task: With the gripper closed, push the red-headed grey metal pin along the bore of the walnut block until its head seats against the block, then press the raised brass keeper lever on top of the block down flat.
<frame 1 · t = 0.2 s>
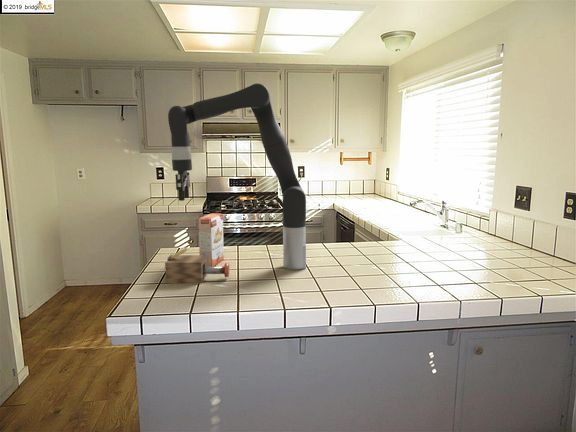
hand: (184, 199, 164), 29 cm above the countertop, tool pointing down, fingers open, 8 cm apart
cracker box: (212, 264, 175), on the countertop
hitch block: (187, 279, 154), on the countertop
lynch pin: (208, 270, 154), point 3 cm above the countertop, slide at 0.0 cm
keeper lever: (177, 253, 153), point 10 cm above the countertop, hinge at 28.0°, touching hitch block
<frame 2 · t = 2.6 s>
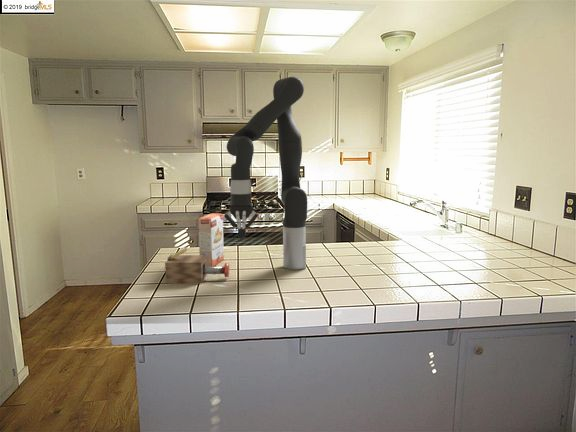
hand: (241, 238, 152), 16 cm above the countertop, tool pointing down, fingers closed
nothing on the countertop moved.
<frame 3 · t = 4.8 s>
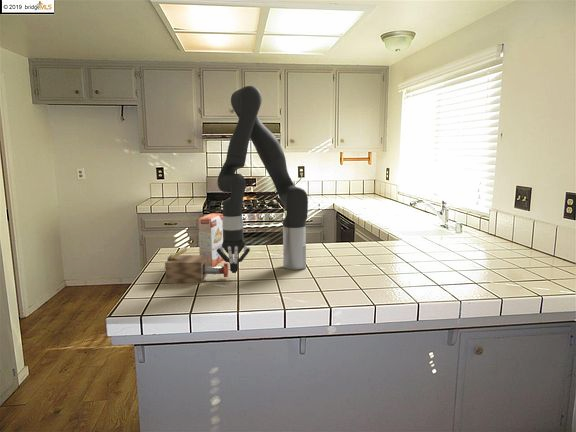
hand: (234, 272, 154), 3 cm above the countertop, tool pointing down, fingers closed
lynch pin: (207, 270, 154), point 3 cm above the countertop, slide at 0.3 cm, touching gripper
everything else where it was.
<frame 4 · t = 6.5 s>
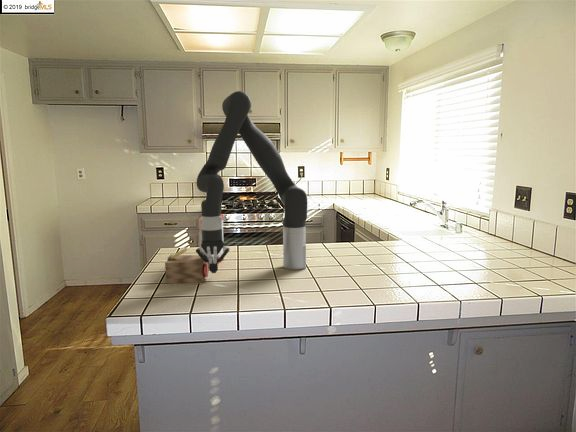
hand: (213, 272, 154), 3 cm above the countertop, tool pointing down, fingers closed
lynch pin: (187, 270, 154), point 3 cm above the countertop, slide at 8.0 cm
everything else where it was.
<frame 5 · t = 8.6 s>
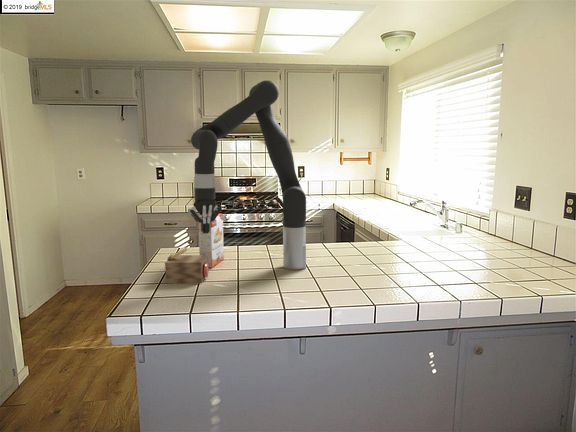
hand: (205, 233, 150), 18 cm above the countertop, tool pointing down, fingers closed
nothing on the countertop moved.
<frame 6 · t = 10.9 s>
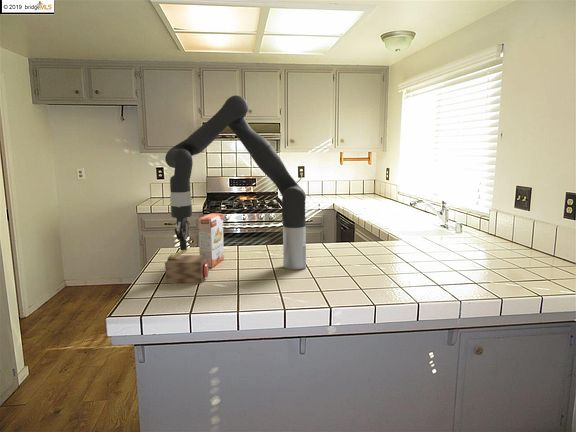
hand: (183, 249, 152), 12 cm above the countertop, tool pointing down, fingers closed
keeper lever: (177, 254, 153), point 10 cm above the countertop, hinge at 26.7°, touching gripper, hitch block
everything else where it was.
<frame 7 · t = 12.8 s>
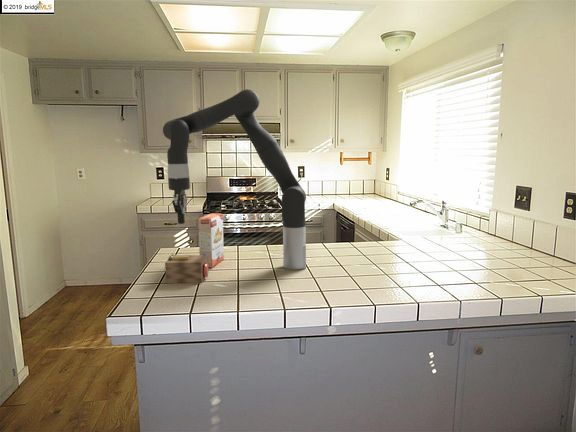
hand: (181, 223, 150), 22 cm above the countertop, tool pointing down, fingers closed
keeper lever: (179, 257, 153), point 9 cm above the countertop, hinge at 1.5°, touching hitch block
everything else where it was.
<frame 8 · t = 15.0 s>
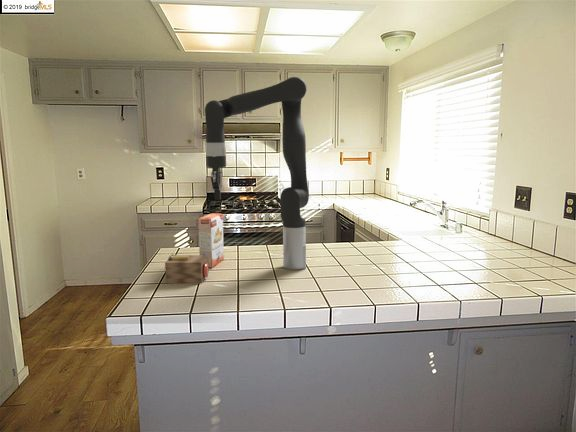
hand: (217, 199, 159), 29 cm above the countertop, tool pointing down, fingers closed
keeper lever: (179, 257, 153), point 9 cm above the countertop, hinge at 0.9°, touching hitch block
everything else where it was.
at the end: lynch pin slide at 8.0 cm; keeper lever at +1° (first picture: +28°) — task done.
